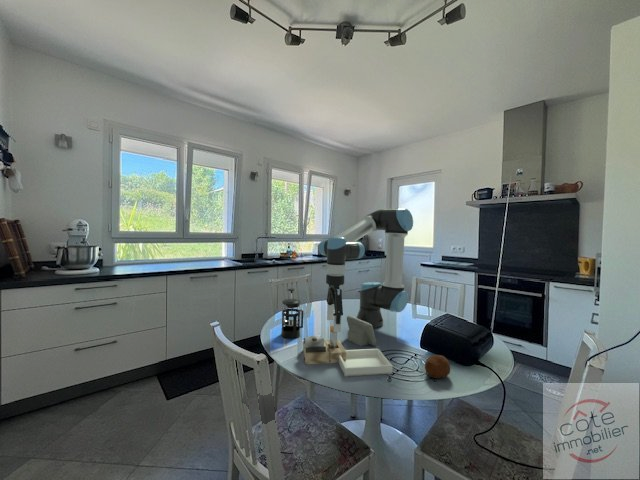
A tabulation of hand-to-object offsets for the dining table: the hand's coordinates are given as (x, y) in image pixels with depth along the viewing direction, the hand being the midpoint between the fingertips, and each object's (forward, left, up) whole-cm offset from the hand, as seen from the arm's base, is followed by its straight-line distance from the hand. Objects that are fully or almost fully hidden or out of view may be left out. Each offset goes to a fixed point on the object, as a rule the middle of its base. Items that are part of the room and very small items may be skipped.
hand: (333, 325), depth 109 cm
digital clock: (-16, -13, -13) cm, 25 cm away
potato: (-35, +19, -13) cm, 42 cm away
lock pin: (0, 0, -13) cm, 13 cm away
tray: (-10, +9, -13) cm, 19 cm away
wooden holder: (+4, 0, -13) cm, 13 cm away
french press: (+16, -23, -13) cm, 31 cm away
